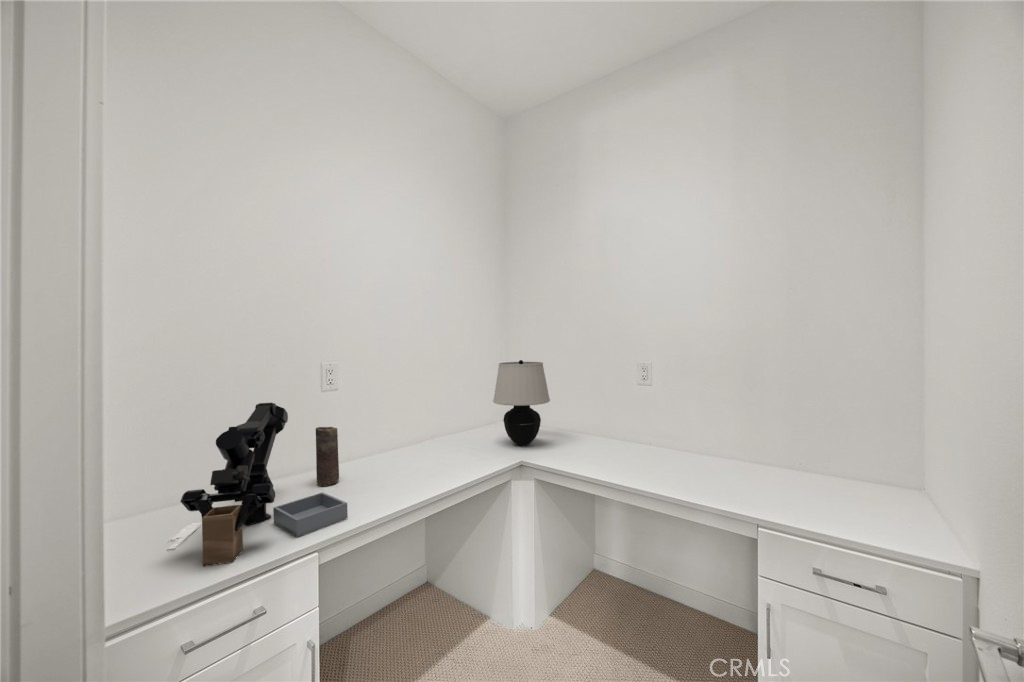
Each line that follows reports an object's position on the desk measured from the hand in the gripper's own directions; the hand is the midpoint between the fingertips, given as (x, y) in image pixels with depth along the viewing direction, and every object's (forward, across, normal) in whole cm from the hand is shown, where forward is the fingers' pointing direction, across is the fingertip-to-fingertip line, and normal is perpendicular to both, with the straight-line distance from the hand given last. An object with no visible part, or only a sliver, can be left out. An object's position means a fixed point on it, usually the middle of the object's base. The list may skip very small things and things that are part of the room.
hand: (220, 532), depth 96 cm
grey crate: (-7, +16, +17) cm, 24 cm away
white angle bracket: (-7, -16, +17) cm, 24 cm away
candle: (-30, +15, +40) cm, 52 cm away
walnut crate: (+4, 0, +6) cm, 7 cm away
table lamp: (-51, +96, +61) cm, 124 cm away
